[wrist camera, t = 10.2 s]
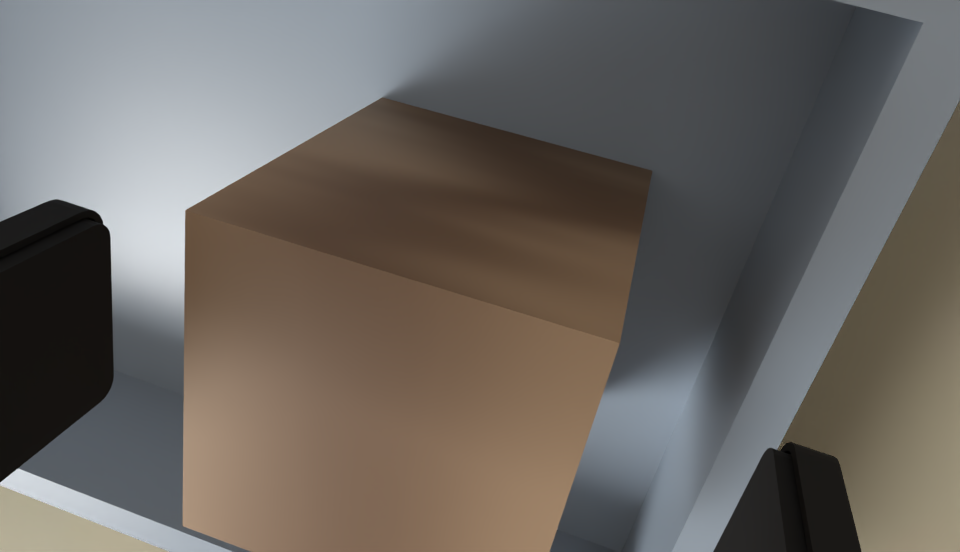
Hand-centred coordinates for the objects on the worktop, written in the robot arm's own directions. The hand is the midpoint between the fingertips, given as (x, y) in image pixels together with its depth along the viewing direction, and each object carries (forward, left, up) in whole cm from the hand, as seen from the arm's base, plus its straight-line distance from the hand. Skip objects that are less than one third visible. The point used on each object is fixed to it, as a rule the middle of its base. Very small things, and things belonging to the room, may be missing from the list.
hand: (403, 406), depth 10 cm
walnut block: (0, 0, -5) cm, 5 cm away
